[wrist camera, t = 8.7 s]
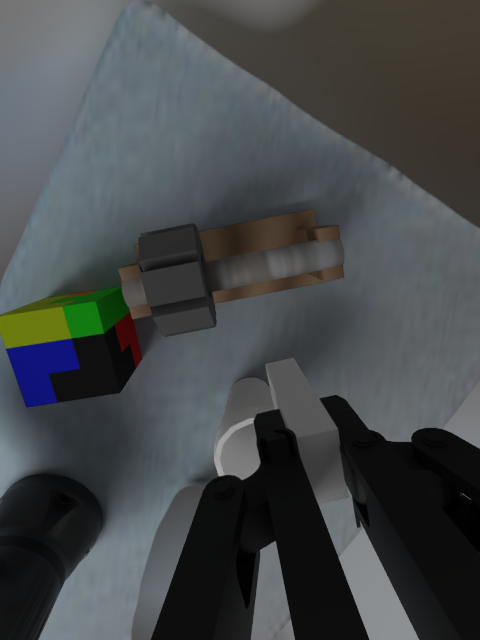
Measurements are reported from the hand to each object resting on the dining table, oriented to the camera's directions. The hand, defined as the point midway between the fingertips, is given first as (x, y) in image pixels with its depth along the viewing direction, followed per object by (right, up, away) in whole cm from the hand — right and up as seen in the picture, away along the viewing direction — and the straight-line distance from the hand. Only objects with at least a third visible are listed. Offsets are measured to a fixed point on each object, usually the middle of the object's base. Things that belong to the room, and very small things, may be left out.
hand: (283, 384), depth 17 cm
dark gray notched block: (-8, +7, +16) cm, 19 cm away
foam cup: (-1, -8, +30) cm, 31 cm away
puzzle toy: (-21, +2, +27) cm, 34 cm away
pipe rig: (-3, +11, +25) cm, 27 cm away
